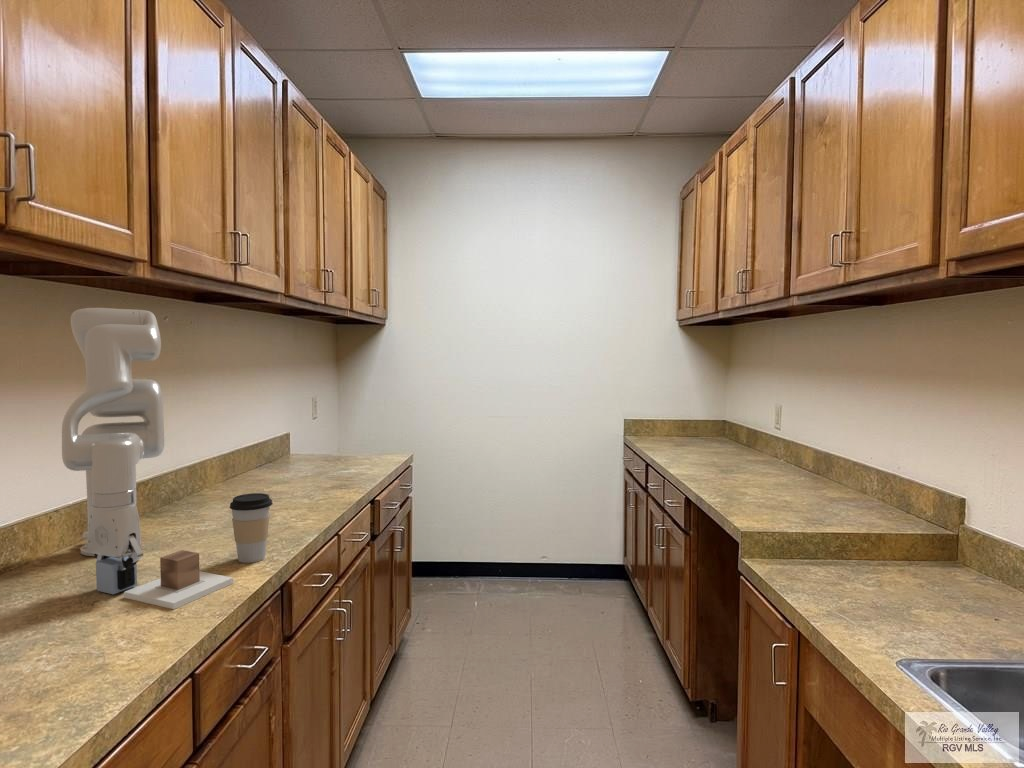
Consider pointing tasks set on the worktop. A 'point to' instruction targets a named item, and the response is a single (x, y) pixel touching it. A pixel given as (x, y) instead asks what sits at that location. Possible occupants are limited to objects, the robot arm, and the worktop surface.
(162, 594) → the plate
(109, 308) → the robot arm
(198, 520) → the worktop surface
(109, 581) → the block blue
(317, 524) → the worktop surface
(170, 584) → the block walnut
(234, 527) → the coffee cup
